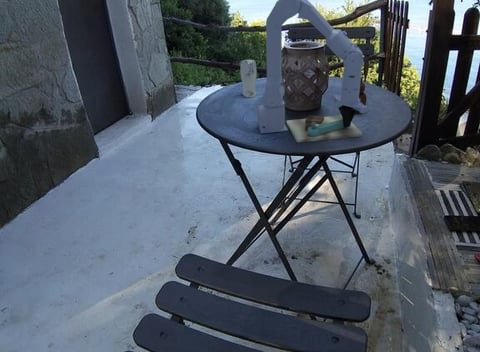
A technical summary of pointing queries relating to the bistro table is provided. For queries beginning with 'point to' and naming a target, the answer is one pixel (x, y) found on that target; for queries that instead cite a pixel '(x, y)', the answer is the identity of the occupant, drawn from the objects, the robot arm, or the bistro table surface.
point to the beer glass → (248, 77)
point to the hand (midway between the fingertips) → (346, 126)
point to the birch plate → (302, 135)
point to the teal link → (324, 127)
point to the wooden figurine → (362, 94)
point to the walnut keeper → (313, 119)
